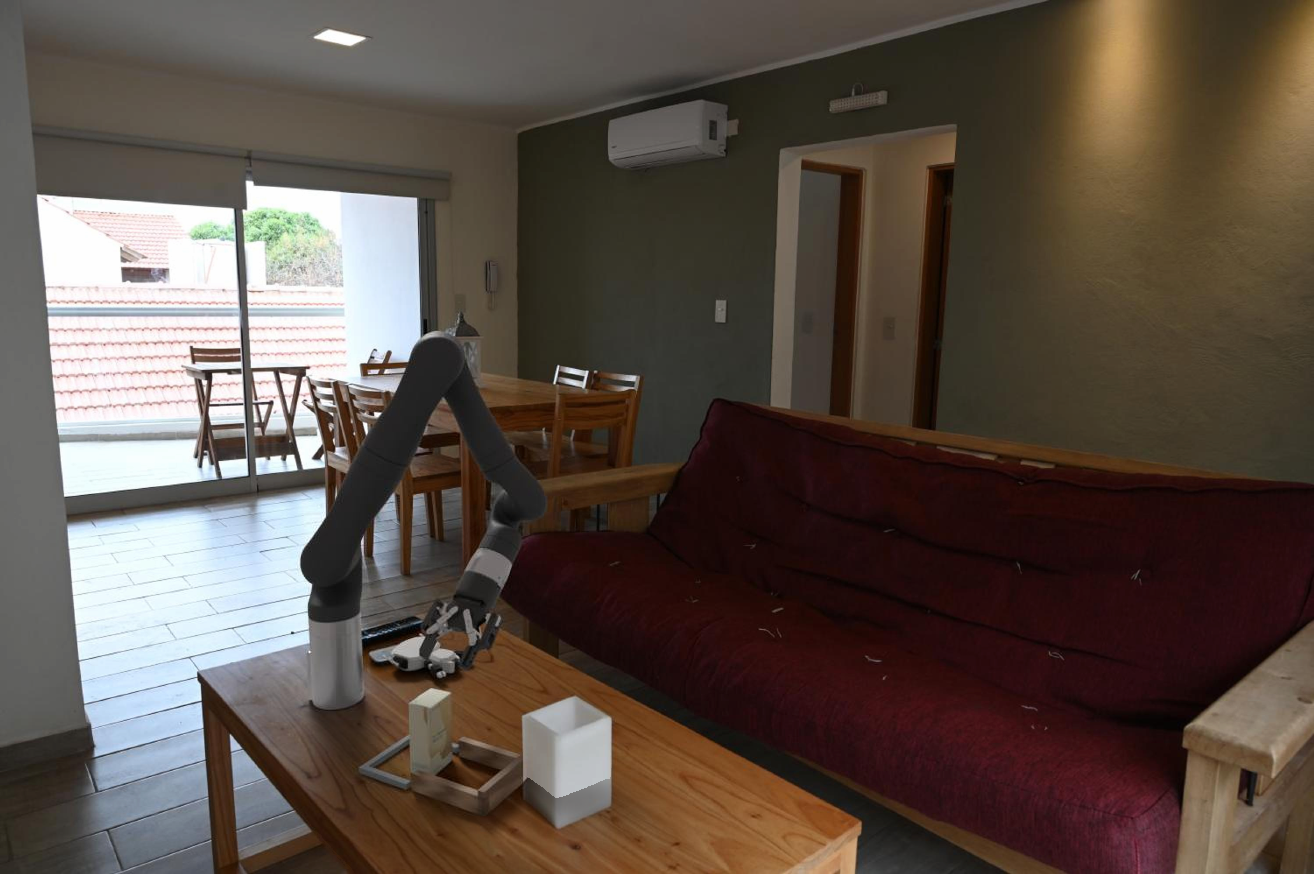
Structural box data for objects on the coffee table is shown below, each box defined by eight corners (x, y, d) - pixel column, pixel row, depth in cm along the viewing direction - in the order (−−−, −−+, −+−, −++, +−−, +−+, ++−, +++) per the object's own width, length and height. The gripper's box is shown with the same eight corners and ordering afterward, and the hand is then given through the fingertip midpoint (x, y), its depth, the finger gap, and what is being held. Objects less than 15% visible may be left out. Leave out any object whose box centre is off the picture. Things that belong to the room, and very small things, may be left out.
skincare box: (431, 779, 135) (429, 708, 133) (409, 773, 136) (406, 703, 134) (454, 758, 141) (452, 691, 139) (432, 753, 142) (430, 686, 140)
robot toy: (475, 666, 177) (417, 649, 182) (476, 646, 176) (417, 629, 181) (440, 691, 166) (379, 672, 171) (441, 670, 165) (380, 651, 170)
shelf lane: (412, 790, 132) (411, 767, 131) (463, 752, 143) (462, 731, 142) (484, 816, 126) (484, 792, 125) (531, 774, 137) (531, 752, 136)
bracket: (359, 772, 136) (358, 767, 136) (414, 735, 148) (414, 730, 147) (406, 789, 132) (406, 784, 132) (459, 750, 143) (459, 744, 143)
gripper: (442, 562, 152) (399, 645, 143) (507, 576, 145) (465, 663, 137) (462, 582, 157) (421, 662, 149) (524, 596, 151) (485, 680, 143)
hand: (442, 662), depth 143 cm, fingers open, 8 cm apart
